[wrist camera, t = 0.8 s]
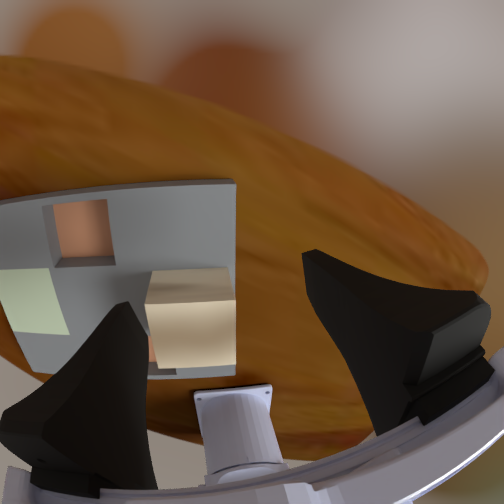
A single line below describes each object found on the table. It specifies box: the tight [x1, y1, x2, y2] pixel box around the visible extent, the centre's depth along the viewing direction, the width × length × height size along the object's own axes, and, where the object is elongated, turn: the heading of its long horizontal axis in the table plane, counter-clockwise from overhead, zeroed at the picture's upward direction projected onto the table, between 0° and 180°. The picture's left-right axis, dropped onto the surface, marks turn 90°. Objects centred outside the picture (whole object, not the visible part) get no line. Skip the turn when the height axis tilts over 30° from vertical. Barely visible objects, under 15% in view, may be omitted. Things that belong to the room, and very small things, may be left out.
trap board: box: [0, 179, 236, 379], centre depth 19 cm, size 16×20×2 cm
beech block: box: [144, 267, 236, 369], centre depth 18 cm, size 5×5×4 cm
